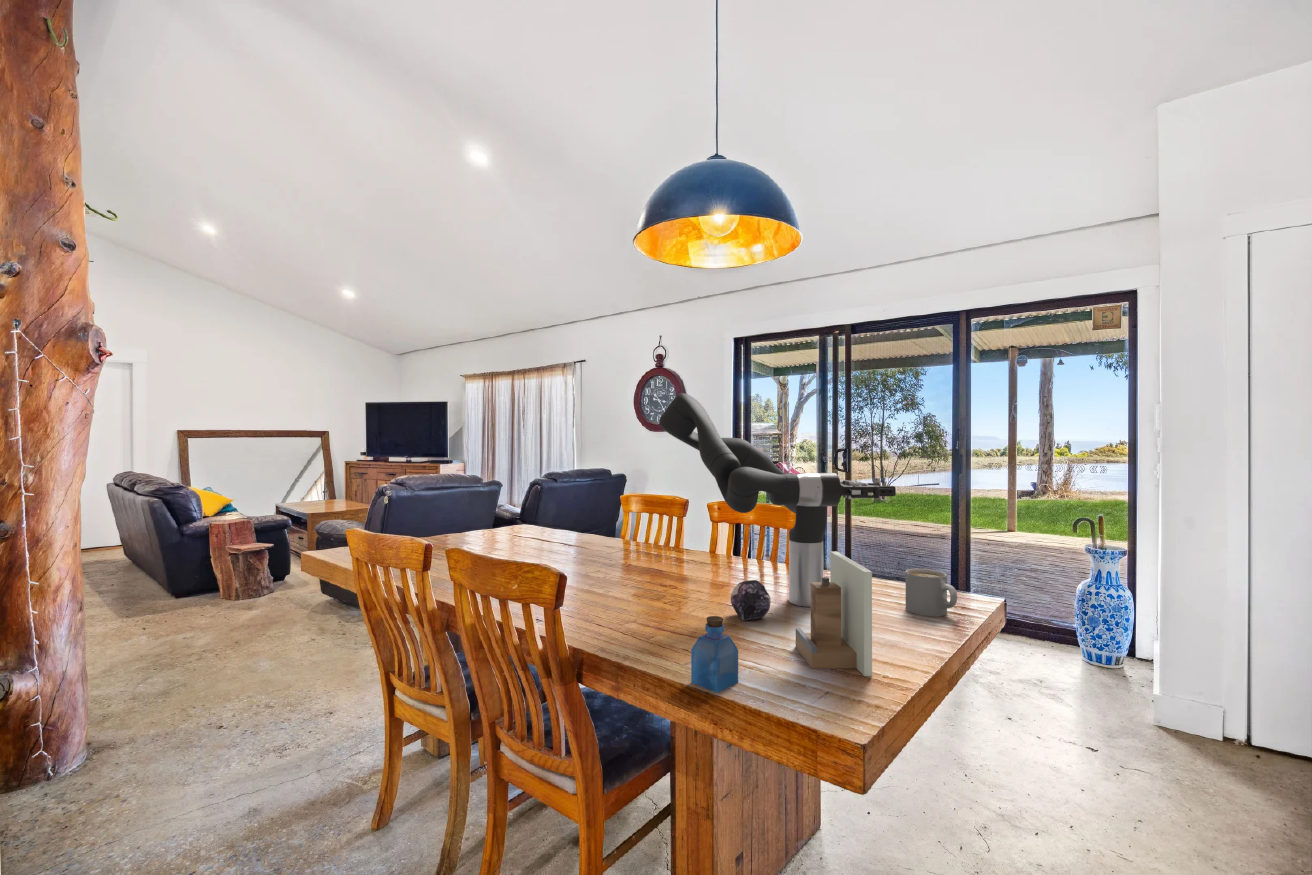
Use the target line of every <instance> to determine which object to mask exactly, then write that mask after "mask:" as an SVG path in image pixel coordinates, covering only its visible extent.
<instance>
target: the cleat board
mask: <svg viewBox="0 0 1312 875" xmlns="http://www.w3.org/2000/svg"><path fill="white" fill-rule="evenodd" d="M829 559H830V560H829V561H830V565H829V566H830V569H829V570H830V573H829V574H830V575H829V576H830V577H829V582H834V583H836V584H837V585H838V586H840V587H841V646H816V645H815V644H814V642H813V641H812V640H811V632H804V630H803V629H802V628H801V627H795V649H797V651H798V652H799V654H800V655H801V656H802V657H803V659H804V660H805V662H806V663H807V664H808V665H809V668H811V669H857V670H858V671H859V672H860V673H861V675H863V676H864V677H872V676H873V572H872V571H871V570H870V569H868V568H867V567H864V566H862V565H861V564H859V563H858V562H856V561H854V560H852V559H850V558H849V557H848V556H846V555H844V554H843V553H840V552H839V551H830V556H829Z"/></svg>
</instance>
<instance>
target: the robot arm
mask: <svg viewBox="0 0 1312 875" xmlns="http://www.w3.org/2000/svg"><path fill="white" fill-rule="evenodd" d="M658 422H659V425H660V427H661V429H663V430H664V431H665V432H666V433H668V434H669V435H670V436H672V437H674V438H675V439H677V440H679V441H680V442H682V443H684V444H686V445H688V446H690V447H692V448H694V449H695V450H697V451H699V455H700V458H701V461H702V463H703V465H704V466H705V467H706V468H707V470H708V471H709V473H710V474H711V475H712V476H713V478H714V479H715V482H716V484H717V487H718V489H719V491H720V493H721V495H722V498H723V499H724V501H725V503H726V504H727V506H728V507H729V508H730V509H731V510H733V511H735V512H737V513H740V514H741V513H742V514H746V513H750V512H752V511H753V510H754V509H755V508H756V506H757V503H758V500H759V493H760V491H761V492H764V493H767V494H768V499H769V502H770V503H771V504H773V505H774V506H784V507H786V508H787V509H788V510H789V511H791V512H792V513H793V514H795V522H794V526H793V527H792V528H791V529H790V530H789V531H788V532H789V533H788V537H789V538H788V557H789V558H788V560H789V563H788V565H789V567H788V575H789V576H788V579H789V580H788V594H789V596H788V598H789V599H788V601H789V603H791V604H792V605H795V606H799V607H810V608H811V582H822V577H824V535H825V533H826V530H827V522H828V521H827V520H828V507H837V506H838V505H839V504H840V502H841V498H843V499H848V500H855V499H862V500H863V499H864V500H866V499H880V497H895V496H896V494H897V493H896V489H897V488H896V486H894V485H881V484H880V483H878V482H861V481H858V480H850V479H848V480H846V479H843V480H842V481H841V479H840V476H839V475H838V473H835V472H804V473H796V474H795V473H792V474H791V473H786V472H784V471H782V470H781V469H780V468H779V467H777V465H775V463H774V462H773V461H772V460H771V458H770V457H769V456H768V455H767V454H766V453H765V452H763V451H762V450H761V449H759V448H758V447H756V446H755V445H753V444H752V443H750V442H749V441H748V440H746V439H742V438H738V437H721V436H720V434H719V432H718V430H717V428H716V426H715V424H714V422H713V421H712V419H711V418H710V416H709V414H708V412H707V410H706V409H705V407H704V406H703V404H702V403H700V401H699V400H698V399H696V398H694V397H693V396H692V395H690V394H687V393H684V392H680V393H678V394H677V395H676V396H675V397H674V398H673V400H672V401H670V403H669V405H668V406H667V408H666V409H665V410H664V412H663V413H662V414H661V416H660V417H659V420H658ZM695 430H696V431H697V432H696V431H695Z"/></svg>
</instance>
